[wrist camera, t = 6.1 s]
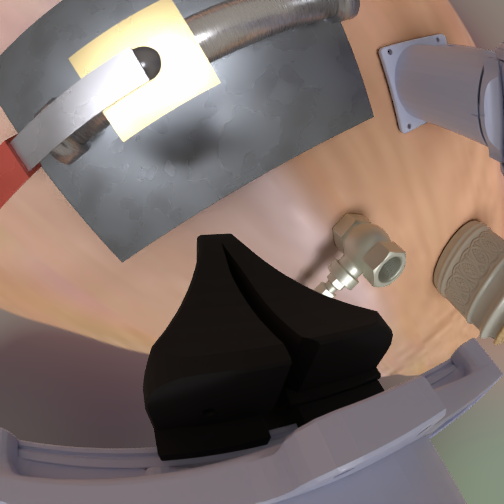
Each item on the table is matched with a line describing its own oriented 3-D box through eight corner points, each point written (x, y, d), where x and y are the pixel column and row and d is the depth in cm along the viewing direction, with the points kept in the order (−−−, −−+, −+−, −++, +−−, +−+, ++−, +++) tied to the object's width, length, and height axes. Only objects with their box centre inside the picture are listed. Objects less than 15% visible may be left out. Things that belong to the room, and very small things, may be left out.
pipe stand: (274, -80, 9) (312, -114, 4) (366, 114, 20) (419, 132, 15) (-10, 74, 10) (-60, 81, 5) (123, 255, 21) (117, 309, 16)
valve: (344, 192, 24) (255, 291, 27) (392, 230, 19) (280, 345, 22) (377, 229, 28) (298, 311, 31) (419, 267, 22) (325, 358, 26)
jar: (418, 288, 37) (494, 376, 23) (462, 209, 31) (558, 289, 17) (454, 289, 42) (515, 356, 28) (489, 226, 36) (561, 289, 22)
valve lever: (149, 38, 9) (146, 30, 7) (169, 74, 10) (171, 73, 8) (-21, 181, 9) (-42, 199, 7) (-1, 209, 10) (-19, 230, 9)
